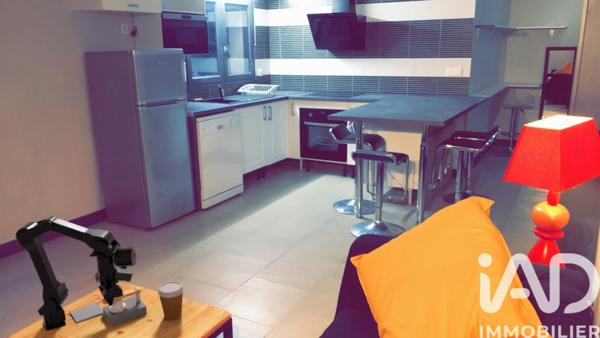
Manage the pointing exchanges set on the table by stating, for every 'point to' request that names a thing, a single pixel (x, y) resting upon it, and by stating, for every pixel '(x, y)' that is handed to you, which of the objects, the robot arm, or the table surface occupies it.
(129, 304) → the socket base
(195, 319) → the table surface
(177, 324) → the table surface
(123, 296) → the light orange flat bar
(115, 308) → the plug
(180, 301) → the disposable coffee cup
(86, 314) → the mat
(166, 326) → the table surface
